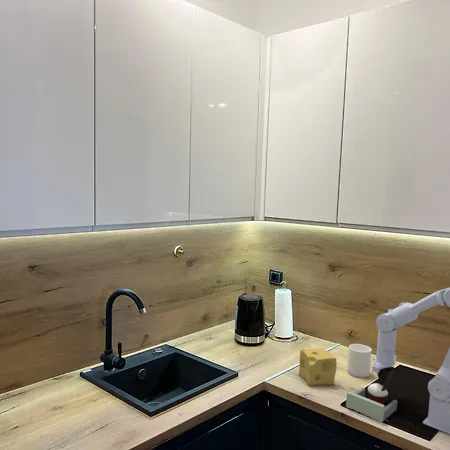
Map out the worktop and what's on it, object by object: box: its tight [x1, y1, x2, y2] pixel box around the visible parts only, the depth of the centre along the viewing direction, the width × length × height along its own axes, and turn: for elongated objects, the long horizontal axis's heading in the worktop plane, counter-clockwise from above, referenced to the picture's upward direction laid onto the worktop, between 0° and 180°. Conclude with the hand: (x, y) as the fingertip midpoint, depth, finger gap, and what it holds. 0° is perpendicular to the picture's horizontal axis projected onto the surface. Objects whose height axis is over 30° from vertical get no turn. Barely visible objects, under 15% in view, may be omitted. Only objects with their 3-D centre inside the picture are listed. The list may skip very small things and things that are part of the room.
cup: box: [347, 343, 372, 379], centre depth 168 cm, size 8×12×10 cm
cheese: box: [298, 348, 337, 387], centre depth 160 cm, size 10×11×10 cm
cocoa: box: [366, 373, 393, 405], centre depth 143 cm, size 10×6×12 cm, turn 4°
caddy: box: [345, 387, 398, 423], centre depth 140 cm, size 12×11×5 cm
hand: (382, 386), depth 146 cm, fingers closed, pressing on cocoa
